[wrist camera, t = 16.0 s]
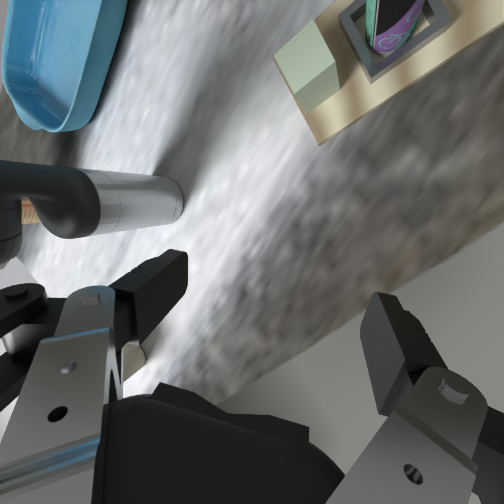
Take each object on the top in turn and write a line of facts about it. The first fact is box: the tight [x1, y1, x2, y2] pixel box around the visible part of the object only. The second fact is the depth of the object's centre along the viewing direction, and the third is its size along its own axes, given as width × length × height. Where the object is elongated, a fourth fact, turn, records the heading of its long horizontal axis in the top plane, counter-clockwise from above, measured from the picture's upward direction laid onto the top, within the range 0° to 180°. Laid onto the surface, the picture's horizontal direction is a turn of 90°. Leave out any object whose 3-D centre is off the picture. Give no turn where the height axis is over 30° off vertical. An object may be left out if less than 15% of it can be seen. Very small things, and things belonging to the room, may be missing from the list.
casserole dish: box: [1, 0, 128, 132], centre depth 47 cm, size 37×22×7 cm, turn 145°
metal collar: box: [338, 0, 452, 85], centre depth 29 cm, size 9×9×2 cm
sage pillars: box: [273, 19, 340, 114], centre depth 27 cm, size 25×5×8 cm, turn 121°
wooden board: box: [273, 0, 504, 146], centre depth 31 cm, size 26×14×1 cm, turn 121°
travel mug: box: [123, 343, 145, 382], centre depth 55 cm, size 8×8×18 cm
